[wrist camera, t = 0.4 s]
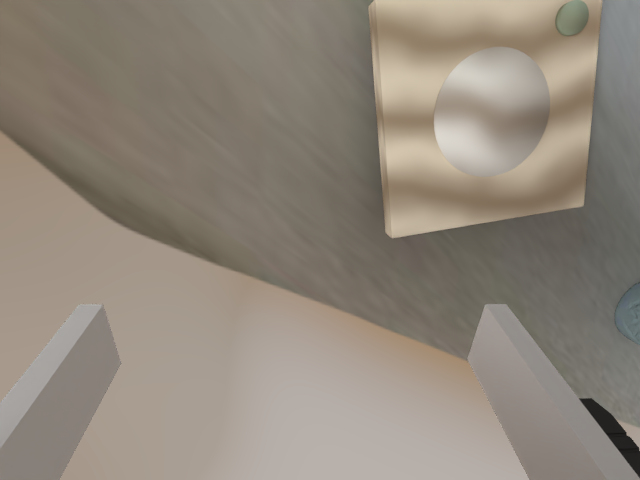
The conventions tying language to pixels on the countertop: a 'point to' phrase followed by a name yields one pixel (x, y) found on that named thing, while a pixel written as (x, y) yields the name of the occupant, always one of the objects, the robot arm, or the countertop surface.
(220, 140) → the countertop surface
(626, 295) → the blue-grey cup
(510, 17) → the stand
